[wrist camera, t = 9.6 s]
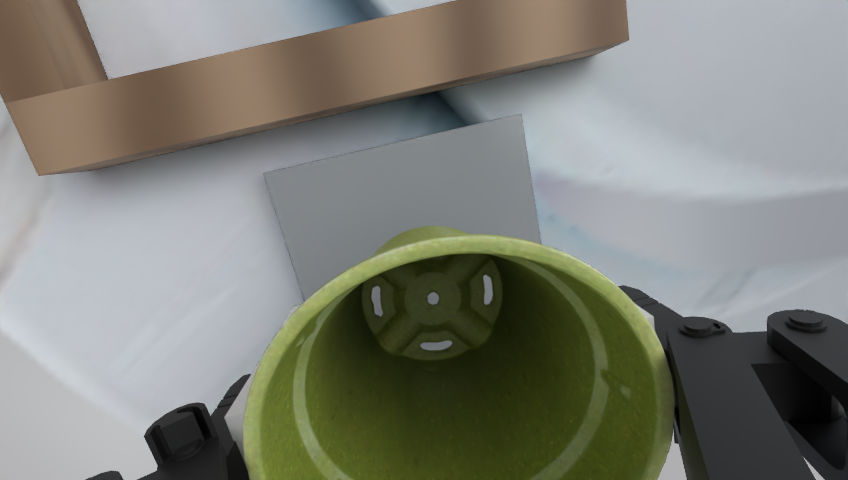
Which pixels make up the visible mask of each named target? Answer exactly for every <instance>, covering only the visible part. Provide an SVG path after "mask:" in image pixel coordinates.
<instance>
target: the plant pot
mask: <svg viewBox="0 0 848 480" xmlns="http://www.w3.org/2000/svg"><path fill="white" fill-rule="evenodd" d="M484 275H487V276H488V277H490V278H491V282H492V291H493V296H492V300H491V301H490V303H489V304H487V305H485V303H484V296H485V286H484V285H485V284H484V279H483V276H484ZM376 286H378V287H379V288H380V302H381V309H382V311H383V314H382V316H379V315H376V314H375V308H374V303H373V301H372V298H371V296H372V290H373V288H374V287H376ZM433 292H435V293H436V294H438V296H439V300H438V303H437V304H433V305H432V304H430V303H429V302H428V298H427V297H428V295H429V294H430V293H433ZM443 341H451V342H452V345H451V346H450V347H448V348H445V349H442V350H426V349H423V348H421V347H420V346H421V344H422V343H428V342H431V343H438V342H443ZM674 415H675V395H674V387H673V381H672V375H671V372H670V368H669V364H668V361H667V358H666V356H665V353H664V350H663V348H662V345H661V343H660V341H659V339H658V337H657V335H656V332H655V331H654V330H653V328H652V326H651V325H650V323H649V321H648V320H647V318H646V317H645V316H644V314H643V313H642V311H641V310H640V309H639V308H638V307H637V305H636V304H635V303H634V302H633V301H632V300H631V299H630V298H629V297H628V296H627V295H626V294H625V293H624V292H623V291H622V290H621V289H620V288H619V287H618V286H617V285H615V284H614V283H613V282H612V281H611V280H609V279H608V278H607V277H606V276H604V275H603V274H602V273H600V272H599V271H597V270H596V269H594V268H593V267H591V266H589V265H588V264H586V263H584V262H583V261H581V260H579V259H577V258H575V257H573V256H571V255H568V254H566V253H564V252H562V251H559V250H557V249H555V248H552V247H549V246H545V245H542V244H539V243H536V242H532V241H528V240H524V239H519V238H514V237H508V236H499V235H488V234H468V233H465V232H463V231H460V230H458V229H454V228H450V227H444V226H423V227H418V228H414V229H411V230H408V231H405V232H402V233H400V234H398V235H396V236H395V237H393V238H391V239H390V240H389V241H387V242H386V243H385V244H384V245H383V246H382V247H380V248H379V249H378V250H377V251H376V252H375V254H374V255H373V256H372V257H370V258H367V259H365V260H363V261H361V262H359V263H357V264H356V265H354V266H352V267H350V268H348V269H346V270H345V271H343V272H342V273H340V274H339V275H337V276H336V277H334V278H333V279H331V280H330V281H328V282H327V283H326V284H324V285H323V286H322V287H321V288H320V289H318V290H317V291H316V292H315V293H313V294H312V295H311V296H310V297H309V298H308V299H307V300H306V301H305V302H304V303H303V304H302V305H301V306H299V307H298V309H297V310H296V311H295V312H294V313H293V314H292V315H291V316H290V317H289V318H288V320H287V321H286V322H285V323H284V325H283V326H282V327H281V329H280V330H279V331H278V332H277V334H276V335H275V336H274V338H273V340H272V341H271V343H270V344H269V346H268V347H267V349H266V351H265V353H264V354H263V356H262V359H261V361H260V363H259V365H258V367H257V369H256V372H255V374H254V377H253V379H252V382H251V385H250V389H249V392H248V396H247V400H246V405H245V411H244V418H243V449H244V457H245V461H246V464H247V469H248V474H249V479H250V480H657V479H658V477H659V474H660V472H661V469H662V467H663V465H664V463H665V460H666V457H667V454H668V452H669V449H670V445H671V441H672V434H673V426H674Z"/></svg>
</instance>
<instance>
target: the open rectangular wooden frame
mask: <svg viewBox="0 0 848 480" xmlns="http://www.w3.org/2000/svg"><path fill="white" fill-rule="evenodd" d="M628 40H629V33H628V21H627V9H626V0H456V1H452V2H447V3H443V4H439V5H434V6H430V7H426V8H421V9H417V10H412V11H408V12H404V13H399V14H395V15H390V16H386V17H382V18H377V19H373V20H369V21H364V22H360V23H355V24H351V25H347V26H342V27H338V28H333V29H329V30H325V31H320V32H316V33H312V34H307V35H303V36H298V37H294V38H290V39H285V40H281V41H276V42H272V43H268V44H263V45H259V46H255V47H250V48H246V49H241V50H237V51H233V52H228V53H224V54H219V55H215V56H211V57H206V58H202V59H198V60H193V61H189V62H184V63H180V64H176V65H171V66H167V67H162V68H158V69H154V70H149V71H145V72H141V73H136V74H132V75H127V76H123V77H119V78H114V79H110V80H108V78H107V76H106V73H105V71H104V68H103V66H102V63H101V61H100V58H99V56H98V53H97V51H96V48H95V46H94V43H93V40H92V38H91V35H90V33H89V30H88V28H87V25H86V23H85V20H84V18H83V15H82V13H81V10H80V8H79V5H78V3H77V0H0V94H1V96H2V98H3V100H4V103H5V105H6V107H7V109H8V111H9V113H10V116H11V118H12V120H13V122H14V124H15V126H16V128H17V131H18V133H19V135H20V137H21V139H22V141H23V144H24V146H25V148H26V150H27V152H28V154H29V156H30V159H31V161H32V163H33V165H34V167H35V169H36V171H37V174H38V176H41V175H51V174H61V173H72V172H82V171H91V170H96V169H100V168H104V167H109V166H113V165H117V164H122V163H126V162H130V161H135V160H139V159H143V158H148V157H152V156H156V155H161V154H165V153H170V152H174V151H178V150H183V149H187V148H191V147H196V146H200V145H204V144H209V143H213V142H217V141H222V140H226V139H230V138H235V137H239V136H243V135H248V134H252V133H257V132H261V131H265V130H270V129H274V128H278V127H283V126H287V125H291V124H296V123H300V122H304V121H309V120H313V119H317V118H322V117H326V116H330V115H335V114H339V113H344V112H348V111H352V110H357V109H361V108H365V107H370V106H374V105H378V104H383V103H387V102H391V101H396V100H400V99H404V98H409V97H413V96H417V95H422V94H426V93H431V92H435V91H439V90H444V89H448V88H452V87H457V86H461V85H465V84H470V83H474V82H478V81H483V80H487V79H491V78H496V77H500V76H504V75H509V74H513V73H518V72H522V71H526V70H531V69H535V68H539V67H544V66H548V65H552V64H557V63H561V62H565V61H570V60H574V59H578V58H583V57H587V56H591V55H596V54H598V53H600V52H603V51H605V50H607V49H610V48H612V47H614V46H617V45H619V44H621V43H623V42H626V41H628Z"/></svg>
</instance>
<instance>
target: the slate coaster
mask: <svg viewBox="0 0 848 480" xmlns="http://www.w3.org/2000/svg"><path fill="white" fill-rule="evenodd" d="M263 174H264V178H265V181H266V184H267V187H268V190H269V193H270V196H271V199H272V202H273V205H274V209H275V212H276V215H277V218H278V221H279V224H280V227H281V230H282V233H283V236H284V240H285V243H286V246H287V249H288V252H289V255H290V258H291V261H292V264H293V267H294V271H295V274H296V277H297V280H298V283H299V286H300V289H301V292H302V295H303V298H304V302H305V301H306V300H307V299H308V298H309V297H310V296H311V295H312V294H313V293H315V292H316V291H317V290H318V289H320V288H321V287H322V286H323V285H324V284H326V283H327V282H328V281H330V280H331V279H333V278H334V277H336V276H337V275H339V274H340V273H342V272H343V271H345V270H346V269H348V268H350V267H352V266H354V265H356V264H357V263H359V262H361V261H363V260H365V259H367V258H370V257H372V256H373V255H374V254H375V252H376V251H377V250H378V249H379V248H380V247H382V246H383V245H384V244H385V243H386V242H387V241H389V240H390V239H391V238H393V237H395V236H396V235H398V234H400V233H402V232H405V231H408V230H411V229H414V228H418V227H423V226H444V227H450V228H454V229H458V230H460V231H463V232H465V233H468V234H488V235H499V236H508V237H514V238H519V239H524V240H528V241H532V242H536V243H539V244H541V238H540V232H539V225H538V219H537V212H536V206H535V199H534V193H533V186H532V180H531V173H530V167H529V160H528V154H527V147H526V141H525V134H524V128H523V121H522V115H521V114H518V115H513V116H509V117H505V118H500V119H496V120H492V121H487V122H483V123H479V124H474V125H470V126H466V127H461V128H457V129H453V130H448V131H444V132H440V133H435V134H431V135H427V136H422V137H418V138H414V139H409V140H405V141H401V142H396V143H392V144H388V145H383V146H379V147H375V148H370V149H366V150H362V151H357V152H353V153H349V154H344V155H340V156H336V157H331V158H327V159H323V160H318V161H314V162H310V163H305V164H301V165H297V166H292V167H288V168H284V169H279V170H275V171H271V172H266V173H263ZM483 279H484V284H485V285H484V286H485V296H484V303H485V305H487V304H489V303H490V301H491V300H492V296H493V291H492V282H491V278H490V277H488V276H487V275H484V276H483ZM371 298H372V301H373V303H374V308H375V314H376V315H379V316H382V314H383V311H382V309H381V302H380V288H379V287H378V286H376V287H374V288H373V290H372V296H371ZM427 298H428V302H429V303H430V304H432V305H433V304H437V303H438V300H439V296H438V294H436V293H435V292H433V293H430V294H429V295H428V297H427ZM451 345H452V342H451V341H443V342H438V343H431V342H428V343H422V344H421V346H420V347H421V348H423V349H426V350H442V349H445V348H448V347H450V346H451Z"/></svg>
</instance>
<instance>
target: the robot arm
mask: <svg viewBox="0 0 848 480" xmlns="http://www.w3.org/2000/svg"><path fill="white" fill-rule="evenodd" d="M550 247H552V246H550ZM552 248H553V247H552ZM618 287H619V288H620V289H621V290H622V291H623V292H624V293H625V294H626V295H627V296H628V297H629V298H630V299H631V300H632V301H633V302H634V303H635V304H636V305H637V307H638V308H639V309H640V310H641V311H642V313H643V314H644V316H645V317H646V318H647V320H648V321H649V323H650V325H651V326H652V328H653V330H654V331H655V332H656V335H657V337H658V339H659V341H660V343H661V345H662V348H663V350H664V353H665V356H666V358H667V361H668V364H669V368H670V372H671V375H672V381H673V387H674V395H675V415H674V426H673V427H674V441H675V443H677V444H679V447H680V451H681V455H682V459H683V464H684V468H685V473H686V477H687V480H816V479H815V478H814V476H813V474H812V472H811V471H810V469H809V467H808V465H807V464H806V462H805V460H804V458H805V459H806V460H807V461H808V462H809V463H810V464H811V465H812V466H813V467H814V469H815V470H816V471H817V472H818V473H819V474H820V475H821V476H822V477H823V478H824V479H825V480H848V324H846V323H844V322H842V321H841V320H839V319H836V318H834V317H831V316H829V315H826V314H822V313H817V312H815V311H810V310H806V311H804V310H799V309H796V310H785V311H780V312H775V313H773V314H771V315H770V316H768V319H767V331H765V332H744V333H733V332H732V331H731V329H730V328H729V327H728V326H727V325H726V324H723V323H721V322H719V321H717V320H713V319H709V318H705V317H682V316H680V315H679V314H677V313H676V312H674V311H672V310H671V309H669V308H667V307H666V306H664V305H663V304H661V303H658V301H656V300H655V299H653V298H650V297H649V296H648V295H646V294H645V293H643V292H642V291H640V290H638V289H635V288H631V287H627V286H624V285H623V286H618ZM301 305H302V304H301ZM301 305H297V306H294V307H293V308H292V310H291V312H290V313H289V315H288V316H287V318H286V320H285V321H284V323H285V322H286V321H287V320H288V318H289V317H290V316H291V315H292V314H293V313H294V312H295V311H296V310H297V309H298V307H299V306H301ZM284 323H283V324H282V326H283V325H284ZM282 326H281V327H282ZM280 329H281V328H280ZM280 329H279V330H280ZM261 359H262V358H261ZM260 361H261V360H260ZM260 361H259V363H260ZM259 363H258V364H257V366H256V368H255V369H254V371H253V372H252V374H248V375H244V376H242V377H241V378H240V379H239V380H238V381H237V382H236V383H234V384H233V385H232V386H231V387H230V388H229V390H228V391H227V393H226V394H225V396H224V397H223V398H224V399H223V400H221V402H220V403H219V405H218V406H217V409H215V411H214V412H213V414H212V415H211V417H210V415H209V412H208V410H207V408H206V406H205V404H203V403H192V404H187V405H185V406H182V407H179V408H177V409H175V410H173V411H171V412H169V413H167V414H165V415H164V416H162V417H161V418H160V419H158V420H157V421H155V422H154V423H153V424H152V425H151V426H150V427H149V428H148V429H147V431H146V433H145V435H144V438H145V440H146V442H147V444H148V446H149V448H150V450H151V452H152V454H153V456H154V459H155V461H156V463H157V465H158V467H157V471H155V472H153V473H151V474H149V475H147V476H144V477H142V478H140V479H138V480H250V479H249V474H248V469H247V464H246V461H245V457H244V449H243V418H244V411H245V405H246V400H247V396H248V392H249V389H250V385H251V382H252V379H253V377H254V374H255V372H256V369H257V367H258V365H259ZM803 457H804V458H803ZM86 480H123V478H122V476H121V475H120V473H119V472H118V471H109V472H104V473H100V474H98V475H96V476H94V477H92V478H88V479H86Z"/></svg>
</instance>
